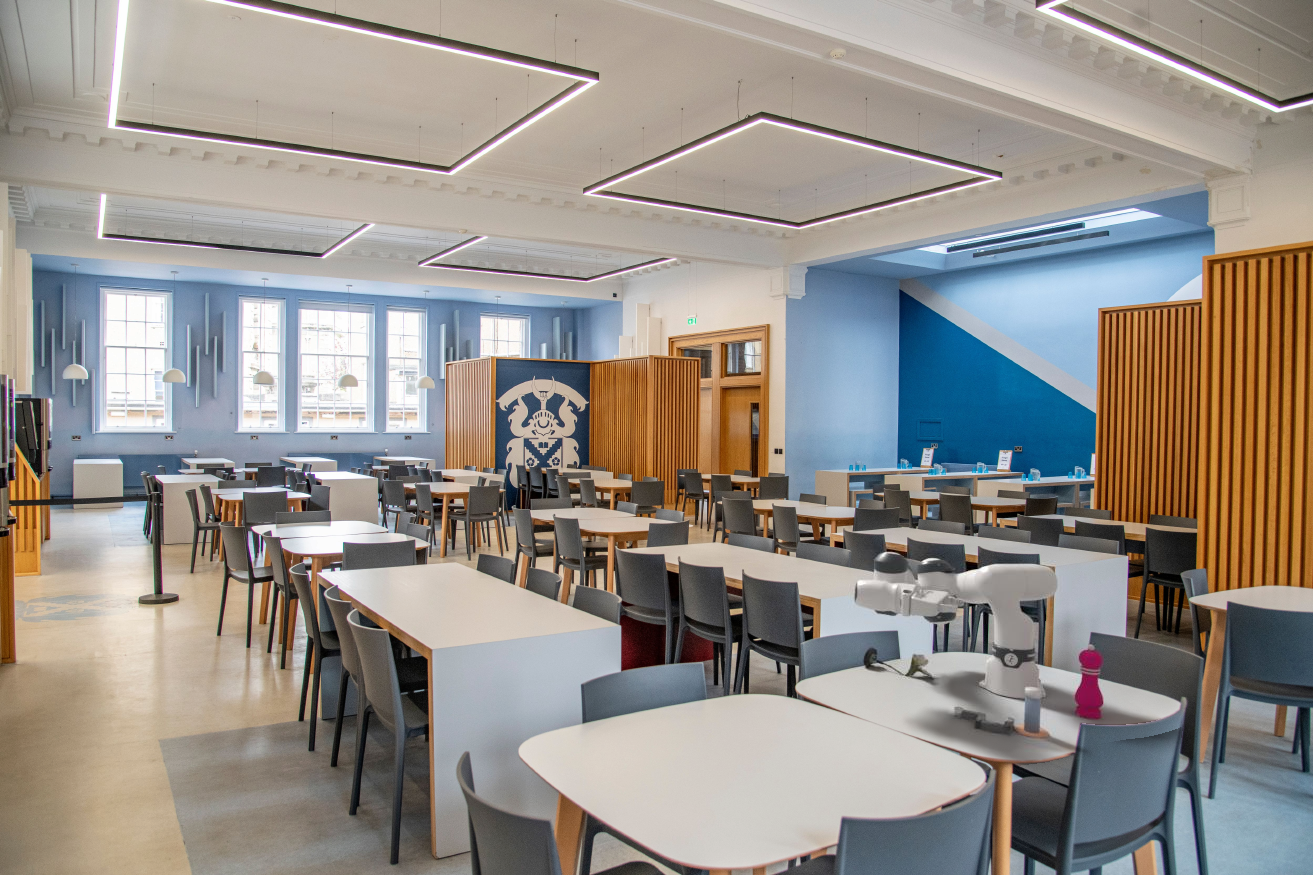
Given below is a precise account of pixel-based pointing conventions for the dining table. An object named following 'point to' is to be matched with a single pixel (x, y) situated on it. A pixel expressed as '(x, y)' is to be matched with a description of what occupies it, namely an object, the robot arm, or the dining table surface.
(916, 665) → the artificial flower
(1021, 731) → the coaster
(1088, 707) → the pepper mill
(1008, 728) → the rail
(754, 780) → the dining table surface
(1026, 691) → the shaker
